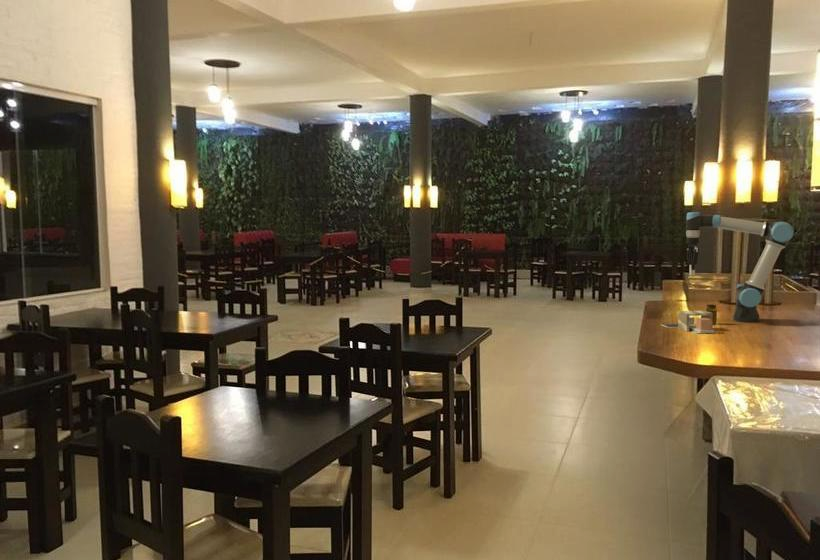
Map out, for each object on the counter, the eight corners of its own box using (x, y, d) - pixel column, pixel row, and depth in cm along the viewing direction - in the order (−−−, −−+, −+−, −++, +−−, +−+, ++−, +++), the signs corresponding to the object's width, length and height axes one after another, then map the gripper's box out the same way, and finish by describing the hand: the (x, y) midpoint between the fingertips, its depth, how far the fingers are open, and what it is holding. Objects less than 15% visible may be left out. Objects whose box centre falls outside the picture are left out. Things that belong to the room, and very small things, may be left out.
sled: (694, 325, 414) (694, 313, 414) (714, 332, 390) (714, 319, 389) (681, 326, 414) (681, 314, 413) (700, 332, 389) (700, 320, 389)
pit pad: (688, 324, 423) (688, 323, 423) (696, 326, 413) (696, 326, 413) (661, 325, 423) (661, 324, 423) (667, 327, 413) (668, 327, 413)
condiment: (719, 324, 421) (720, 304, 420) (711, 325, 417) (711, 306, 415) (708, 322, 427) (709, 303, 426) (700, 324, 423) (700, 304, 421)
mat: (709, 331, 398) (709, 330, 398) (715, 333, 391) (715, 332, 391) (691, 331, 398) (691, 331, 398) (696, 333, 391) (696, 333, 391)
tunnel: (703, 327, 411) (703, 310, 410) (712, 330, 400) (712, 313, 399) (678, 328, 410) (678, 311, 409) (686, 331, 399) (686, 313, 398)
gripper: (682, 237, 433) (681, 274, 435) (691, 237, 420) (690, 276, 422) (693, 236, 433) (693, 274, 435) (703, 237, 420) (702, 275, 422)
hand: (692, 275), depth 429 cm, fingers closed
